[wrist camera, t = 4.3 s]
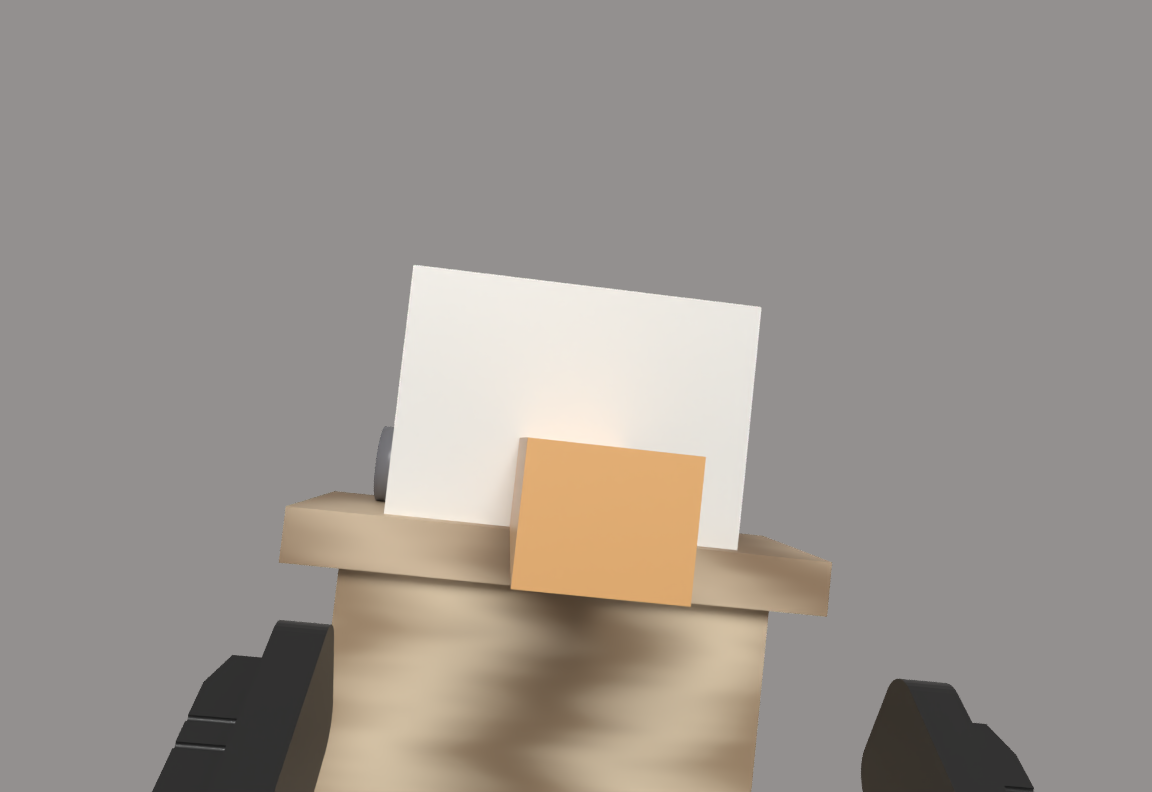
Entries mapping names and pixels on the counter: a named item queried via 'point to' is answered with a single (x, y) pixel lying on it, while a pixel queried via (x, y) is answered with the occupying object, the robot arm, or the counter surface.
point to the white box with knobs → (574, 427)
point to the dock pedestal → (535, 662)
